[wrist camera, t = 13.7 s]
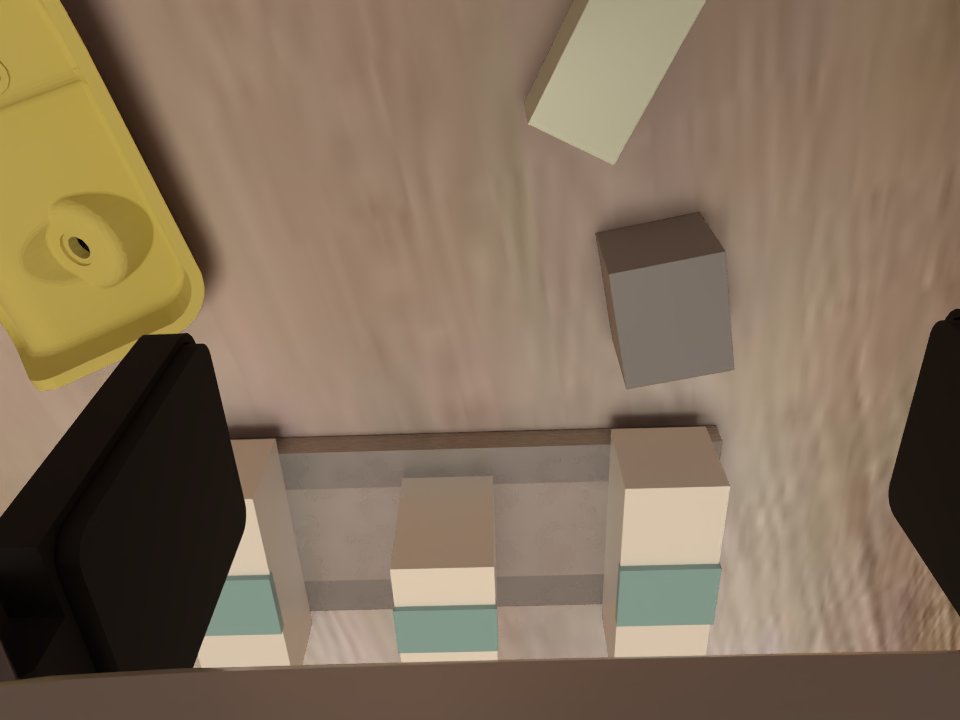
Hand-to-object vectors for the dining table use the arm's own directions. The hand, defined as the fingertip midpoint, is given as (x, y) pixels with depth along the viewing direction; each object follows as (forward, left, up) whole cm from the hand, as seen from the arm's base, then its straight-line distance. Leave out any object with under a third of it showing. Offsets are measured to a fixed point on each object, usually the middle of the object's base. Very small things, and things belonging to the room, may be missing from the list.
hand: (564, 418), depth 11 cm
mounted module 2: (-7, +26, -27) cm, 38 cm away
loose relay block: (-7, +11, -28) cm, 31 cm away
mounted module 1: (+15, +26, -27) cm, 40 cm away
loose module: (+4, +26, -27) cm, 37 cm away
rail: (+4, +26, -28) cm, 39 cm away
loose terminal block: (-4, 0, -28) cm, 29 cm away
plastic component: (+22, +3, -29) cm, 36 cm away
